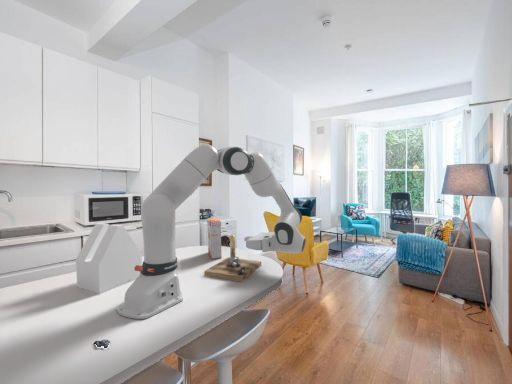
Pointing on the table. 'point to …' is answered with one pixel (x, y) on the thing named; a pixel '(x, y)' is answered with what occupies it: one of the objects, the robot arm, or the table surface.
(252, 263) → the stand
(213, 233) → the cracker box
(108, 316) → the table surface
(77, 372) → the table surface
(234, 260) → the capstan
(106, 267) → the milk carton
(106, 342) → the blueberries
